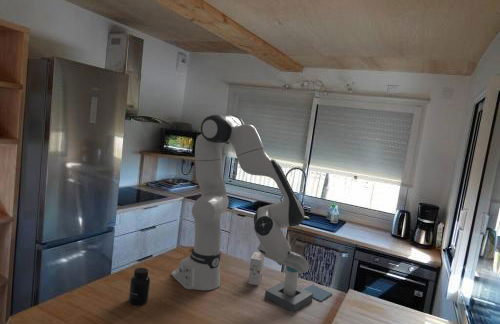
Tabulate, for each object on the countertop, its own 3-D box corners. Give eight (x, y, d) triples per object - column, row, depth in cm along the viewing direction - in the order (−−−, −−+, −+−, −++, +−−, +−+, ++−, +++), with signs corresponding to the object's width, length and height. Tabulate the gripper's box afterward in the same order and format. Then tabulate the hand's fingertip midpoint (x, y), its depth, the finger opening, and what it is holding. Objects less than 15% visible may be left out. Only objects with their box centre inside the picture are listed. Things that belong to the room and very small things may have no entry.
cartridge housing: (264, 297, 139) (265, 290, 139) (284, 287, 150) (285, 280, 149) (293, 312, 130) (294, 304, 130) (312, 300, 141) (313, 293, 140)
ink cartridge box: (251, 275, 157) (255, 245, 156) (261, 277, 156) (265, 247, 155) (247, 283, 149) (251, 251, 147) (258, 286, 148) (262, 253, 146)
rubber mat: (300, 292, 147) (300, 290, 146) (312, 285, 154) (312, 284, 154) (320, 301, 140) (321, 300, 140) (332, 294, 148) (332, 293, 148)
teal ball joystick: (280, 298, 139) (284, 265, 138) (287, 294, 143) (291, 262, 142) (290, 303, 136) (294, 269, 135) (297, 299, 140) (301, 266, 139)
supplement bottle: (127, 306, 121) (130, 274, 120) (129, 297, 127) (131, 266, 126) (148, 306, 123) (150, 274, 121) (148, 296, 129) (151, 266, 128)
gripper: (306, 250, 123) (316, 269, 131) (262, 234, 136) (274, 253, 144) (298, 265, 120) (309, 284, 128) (253, 247, 133) (266, 265, 141)
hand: (290, 267), depth 136 cm, fingers open, 8 cm apart
